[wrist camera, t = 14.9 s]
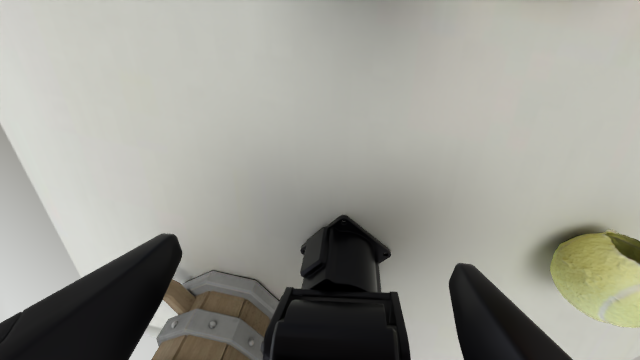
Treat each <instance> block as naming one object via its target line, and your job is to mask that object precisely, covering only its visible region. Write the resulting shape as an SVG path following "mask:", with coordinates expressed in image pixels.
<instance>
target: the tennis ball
mask: <svg viewBox="0 0 640 360" xmlns="http://www.w3.org/2000/svg"><path fill="white" fill-rule="evenodd" d="M550 271H551V275H552V278H553V281H554V283H555V285H556V287H557V289H558V290H559V292H560V293H561V294H562V295H563V297H564V298H565V299H567V300H568V302H569V303H570V304H571V305H573V306H574V307H575V308H576V309H578V310H579V311H581V312H583V313H585V314H586V315H587V316H589V317H591V318H593V319H595V320H598V321H601V322H605V323H610V324H613V325H615V326H620V327H631V328H636V327H640V242H639V241H638V240H636V239H634V238H630V237H628V236H625V235H621V234H619V233H617V232H616V231H613V230H609V229H608V230H606V232H604V233H596V234H593V233H591V234H584V235H581V236H577V237H574V238H572V239H570V240H568V241H566V242H563V243H560V245H559V246H558V248H557V249H556V250H555V253H554V255H553V259H552V261H551V266H550Z"/></svg>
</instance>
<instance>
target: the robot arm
mask: <svg viewBox="0 0 640 360" xmlns="http://www.w3.org/2000/svg"><path fill="white" fill-rule="evenodd" d="M342 220H345V222H343V221H342ZM301 253H302V254H303V255H304V258H303V263H302V267H301V272H300V273H301V276H302V277H304V279H303V284H302V289H294V288H293V287H286V290H285V292H284V294H283V296H282V297H281V299H280V301H279V303H278V306H277V308H276V310H275V312H274V314H273V317H272V319H271V321H270V323H269V326H268V328H267V330H266V332H265V335H264V340H263V341H262V343H261V347H260V351H261V353H262V355H263V360H411V358H410V349H409V342H408V337H407V332H406V327H405V323H404V319H403V314H402V310H401V306H400V301H399V297H398V293H397V292H390V293H382V292H381V283H380V272H379V263H381V262H382V261H384V260H386V259H387V258H389V257H390V256H391V252H390V249H388V248H387V247H386V246H385V245H383V244H382V243H381V242H380V241H378V240H377V239H376V238H374V237H373V236H372V235H371V234H369V233H368V232H367V231H365V230H364V229H363V228H362V227H360V226H359V225H358V224H357V223H355V222H354V221H353V220H351V219H350V218H349V217H348V216H345V215H342V216H340V217H339V218H337V219H336V220H335V221H334V222H332V223H331V224H330V225H328V226H327V227H323V228H322V229H321V230H320V231H318V232H317V233H316V234H314V235H313V236H312V237H311V238H309V239H308V240H307V243H305V244H304V245H303V246H302V247H301ZM181 258H182V250H181V247H180V244H179V242H178V239H177V237H176V236H175V235H174V234H165V233H164V234H160V235H158V236H156V237H155V238H153V239H151V240H149V241H147V242H146V243H144V244H142V245H140V246H138V247H137V248H135V249H133V250H131V251H129V252H128V253H126V254H124V255H122V256H120V257H119V258H117V259H115V260H113V261H111V262H110V263H108V264H106V265H104V266H102V267H101V268H99V269H97V270H95V271H93V272H92V273H90V274H88V275H86V276H84V277H83V278H81V279H79V280H77V281H75V282H74V283H72V284H70V285H69V286H66V287H65V288H63V289H61V290H60V291H57V292H56V293H54V294H52V295H50V296H48V297H47V298H45V299H43V300H41V301H39V302H38V303H36V304H34V305H32V306H30V307H29V308H27V309H25V310H24V311H23V312H19V313H18V314H16V315H14V316H12V317H11V318H9V319H7V320H5V321H3V322H1V323H0V360H129V358H130V356H131V354H132V352H133V351H134V349H135V347H136V346H137V344H138V342H139V341H140V339H141V337H142V335H143V334H144V332H145V330H146V328H147V327H148V325H149V323H150V321H151V320H152V318H153V316H154V314H155V313H156V311H157V309H158V307H159V306H160V304H161V302H162V300H163V298H164V296H165V294H166V291H167V289H168V287H169V285H170V283H171V280H172V278H173V276H174V274H175V272H176V269H177V267H178V265H179V263H180V261H181ZM449 290H450V296H451V301H452V307H453V313H454V318H455V324H456V329H457V335H458V339H459V343H460V347H461V351H462V354H463V358H464V360H573V359H572V358H571V357H570V356H569V355H567V354H566V353H565V352H564V351H563V350H562V349H561V348H560V347H559V346H558V345H557V344H556V343H555V342H554V341H553V340H552V339H551V338H550V337H548V336H547V335H546V334H545V333H544V332H543V331H542V330H541V329H540V328H539V327H538V326H537V325H536V324H535V323H534V322H533V321H532V320H531V319H530V318H528V317H527V316H526V315H525V314H524V313H523V312H522V311H521V310H520V309H519V308H518V307H517V306H516V305H515V304H514V303H513V302H512V301H511V300H509V299H508V298H507V297H506V296H505V295H504V294H503V293H502V292H501V291H500V290H499V289H498V288H497V287H496V286H495V285H494V284H493V283H492V282H490V281H489V280H488V279H487V278H486V277H485V276H484V275H483V274H482V273H481V272H480V271H479V270H478V269H477V268H476V267H475V266H473V265H471V264H464V263H458V264H457V265H456V266H455V268H454V271H453V273H452V275H451V278H450V280H449Z"/></svg>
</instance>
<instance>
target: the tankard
mask: <svg viewBox="0 0 640 360" xmlns="http://www.w3.org/2000/svg"><path fill="white" fill-rule="evenodd" d="M163 300H164V301H165V302H166V303H167V304H168V305H169V306H170V307H171V308H172V309H173V310H174V311H175V312H176V313H177V314H178V316H175V317H173V318H170V319H168V321H167V322H166V324H165V325H164V327H163V329H162V330H161V332H160V334H159V335H158V337H157V342H158V345H159V348H158V350H157V351H156V353H155V355H154V356H153V358H152V360H263V355H262V353H261V351H260V347H261V343H262V341H263V340H264V335H265V332H266V330H267V328H268V326H269V323H270V321H271V319H272V317H273V314H274V312H275V310H276V308H277V306H278V303H279V301H278V300H277V299H276V298H275V297H273V296H272V295H271V294H270V293H269V292H268V291H267V290H266V289H265V288H264V287H263V286H261V285H260V284H259V283H258V282H257V281H256V280H252V279H247V278H243V277H238V276H234V275H230V274H225V273H221V272H216V271H211V272H209V273H206V274H204V275H202V276H200V277H197V278H195V279H193V280H190V281H188V282H186V283H184V284H183V285H181V284H180V283H179V282H177V281H175V280H173V279H172V280H171V283H170V285H169V287H168V289H167V291H166V294H165V296H164V298H163Z"/></svg>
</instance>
